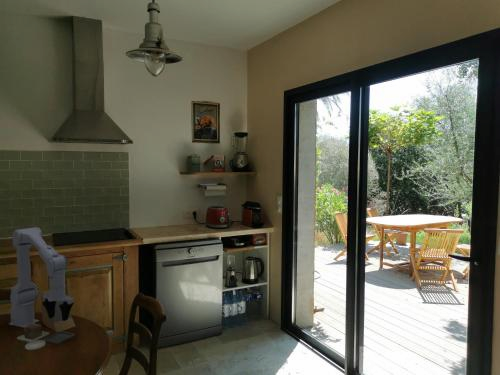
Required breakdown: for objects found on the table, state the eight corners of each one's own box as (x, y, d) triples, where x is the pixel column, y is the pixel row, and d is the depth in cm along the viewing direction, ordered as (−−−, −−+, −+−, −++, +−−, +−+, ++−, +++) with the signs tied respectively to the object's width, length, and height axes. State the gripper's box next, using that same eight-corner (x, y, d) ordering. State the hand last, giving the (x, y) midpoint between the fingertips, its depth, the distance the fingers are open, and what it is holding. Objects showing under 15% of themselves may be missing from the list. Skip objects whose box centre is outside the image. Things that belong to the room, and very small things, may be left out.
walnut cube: (24, 337, 158) (24, 326, 158) (34, 333, 163) (34, 322, 162) (32, 339, 157) (32, 328, 156) (42, 335, 161) (41, 324, 161)
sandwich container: (56, 334, 163) (55, 299, 163) (41, 324, 173) (40, 291, 172) (76, 327, 170) (75, 294, 169) (61, 318, 180) (60, 287, 179)
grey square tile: (42, 341, 156) (42, 339, 156) (60, 333, 164) (60, 330, 164) (58, 345, 153) (58, 342, 153) (75, 336, 161) (74, 334, 160)
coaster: (20, 348, 150) (20, 346, 150) (37, 341, 156) (36, 338, 156) (33, 352, 147) (33, 349, 147) (49, 344, 153) (49, 341, 153)
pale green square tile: (16, 340, 157) (16, 337, 157) (35, 331, 165) (35, 329, 165) (31, 343, 154) (31, 341, 154) (49, 335, 162) (49, 332, 162)
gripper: (35, 286, 156) (37, 319, 157) (62, 291, 151) (63, 325, 151) (50, 282, 163) (51, 313, 163) (76, 285, 157) (77, 318, 158)
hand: (58, 318), depth 158 cm, fingers open, 7 cm apart
